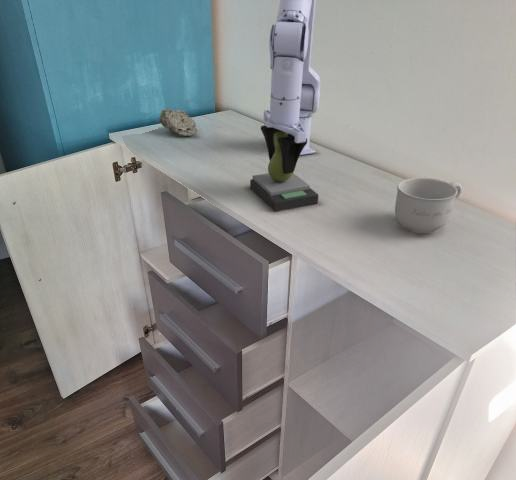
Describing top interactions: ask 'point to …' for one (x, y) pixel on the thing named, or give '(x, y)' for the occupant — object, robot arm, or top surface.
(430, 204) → the teacup
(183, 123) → the rock sample
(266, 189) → the scale
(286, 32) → the robot arm
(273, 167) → the pear
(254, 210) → the top surface
